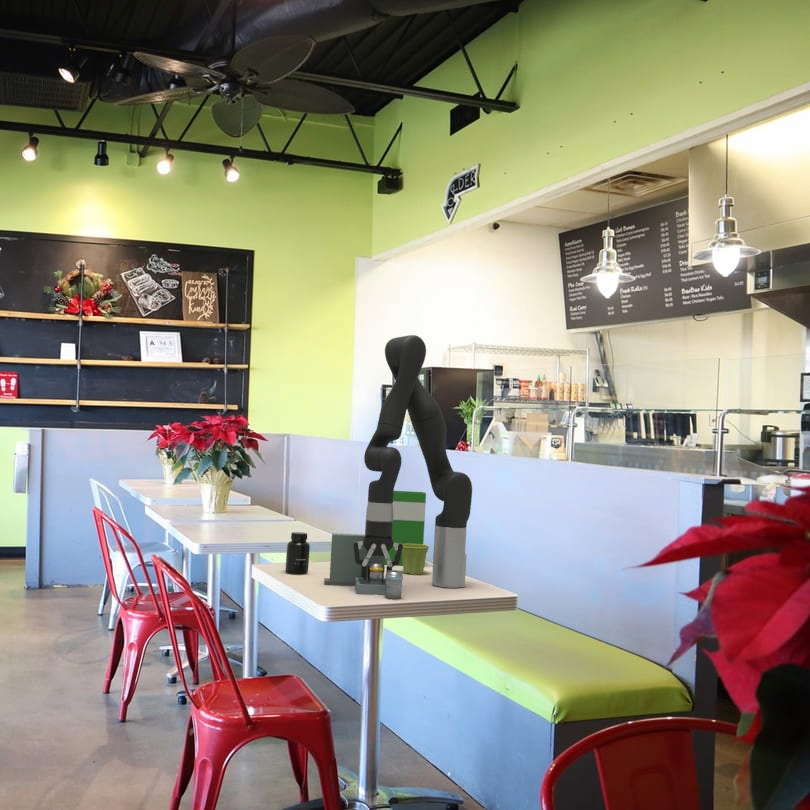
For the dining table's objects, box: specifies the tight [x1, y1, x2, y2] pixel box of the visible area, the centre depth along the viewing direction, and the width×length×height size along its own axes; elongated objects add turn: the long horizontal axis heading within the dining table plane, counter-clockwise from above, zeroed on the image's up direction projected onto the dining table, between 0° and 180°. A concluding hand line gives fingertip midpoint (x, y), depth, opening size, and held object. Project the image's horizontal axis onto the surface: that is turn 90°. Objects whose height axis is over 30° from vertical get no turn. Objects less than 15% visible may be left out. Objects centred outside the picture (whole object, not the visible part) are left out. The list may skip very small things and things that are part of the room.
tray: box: [354, 578, 386, 596], centre depth 253 cm, size 11×11×2 cm
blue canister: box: [384, 569, 404, 601], centre depth 244 cm, size 5×5×7 cm
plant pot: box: [402, 543, 430, 575], centre depth 287 cm, size 9×9×9 cm
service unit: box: [323, 532, 384, 587], centre depth 261 cm, size 18×5×14 cm, turn 96°
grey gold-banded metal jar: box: [367, 562, 386, 585], centre depth 253 cm, size 5×5×7 cm
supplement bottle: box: [285, 531, 311, 575], centre depth 276 cm, size 7×7×12 cm
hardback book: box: [384, 490, 427, 567], centre depth 305 cm, size 18×7×24 cm, turn 91°
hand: (376, 579), depth 253 cm, fingers open, 5 cm apart
